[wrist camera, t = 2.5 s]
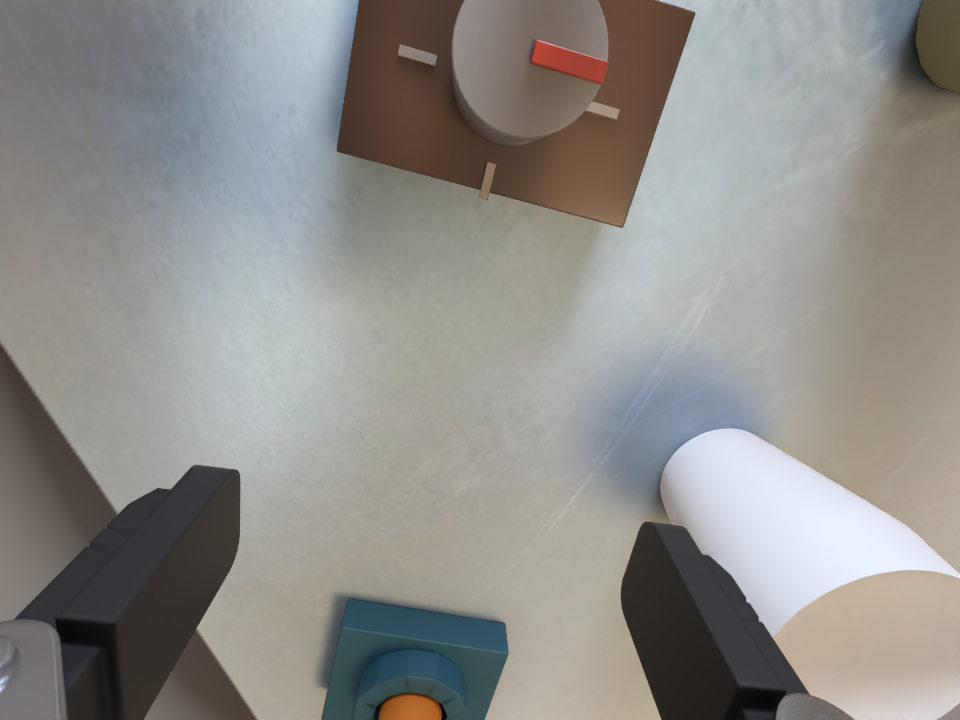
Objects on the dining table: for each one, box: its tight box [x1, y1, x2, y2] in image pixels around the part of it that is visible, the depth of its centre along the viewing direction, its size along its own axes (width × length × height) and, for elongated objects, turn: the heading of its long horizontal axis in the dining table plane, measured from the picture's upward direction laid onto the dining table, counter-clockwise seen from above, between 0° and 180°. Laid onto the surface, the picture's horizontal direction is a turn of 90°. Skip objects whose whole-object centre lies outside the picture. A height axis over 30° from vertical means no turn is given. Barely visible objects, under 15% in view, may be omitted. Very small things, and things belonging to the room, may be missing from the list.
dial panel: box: [337, 0, 695, 228], centre depth 21 cm, size 12×9×3 cm
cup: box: [660, 429, 960, 720], centre depth 24 cm, size 9×9×12 cm
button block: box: [321, 599, 509, 720], centre depth 32 cm, size 10×8×4 cm
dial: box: [452, 0, 609, 146], centre depth 17 cm, size 4×4×6 cm
